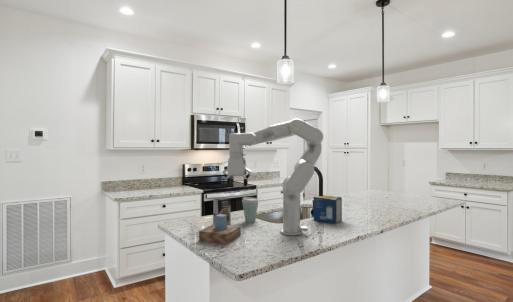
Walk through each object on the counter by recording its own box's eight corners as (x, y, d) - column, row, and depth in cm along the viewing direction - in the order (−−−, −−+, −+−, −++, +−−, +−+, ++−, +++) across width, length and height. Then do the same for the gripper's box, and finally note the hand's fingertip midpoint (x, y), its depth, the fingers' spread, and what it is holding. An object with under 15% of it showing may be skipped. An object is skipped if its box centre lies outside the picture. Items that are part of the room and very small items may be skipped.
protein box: (320, 217, 200) (320, 194, 199) (342, 221, 190) (342, 197, 190) (313, 220, 191) (313, 196, 191) (335, 224, 182) (335, 199, 182)
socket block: (240, 235, 158) (240, 226, 157) (227, 244, 143) (227, 234, 143) (214, 232, 163) (214, 223, 163) (199, 240, 148) (199, 231, 148)
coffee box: (218, 227, 174) (218, 200, 174) (212, 224, 179) (212, 198, 179) (231, 224, 180) (231, 198, 180) (225, 222, 185) (225, 197, 185)
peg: (226, 237, 154) (226, 214, 154) (222, 239, 150) (222, 216, 150) (219, 236, 156) (219, 214, 156) (214, 238, 152) (214, 215, 152)
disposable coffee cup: (259, 219, 193) (259, 196, 193) (257, 223, 182) (257, 199, 182) (243, 219, 194) (243, 196, 194) (240, 223, 183) (240, 199, 183)
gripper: (253, 154, 163) (254, 185, 163) (225, 155, 169) (226, 185, 169) (248, 155, 156) (249, 187, 156) (219, 156, 162) (220, 186, 162)
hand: (237, 186), depth 162 cm, fingers open, 9 cm apart
